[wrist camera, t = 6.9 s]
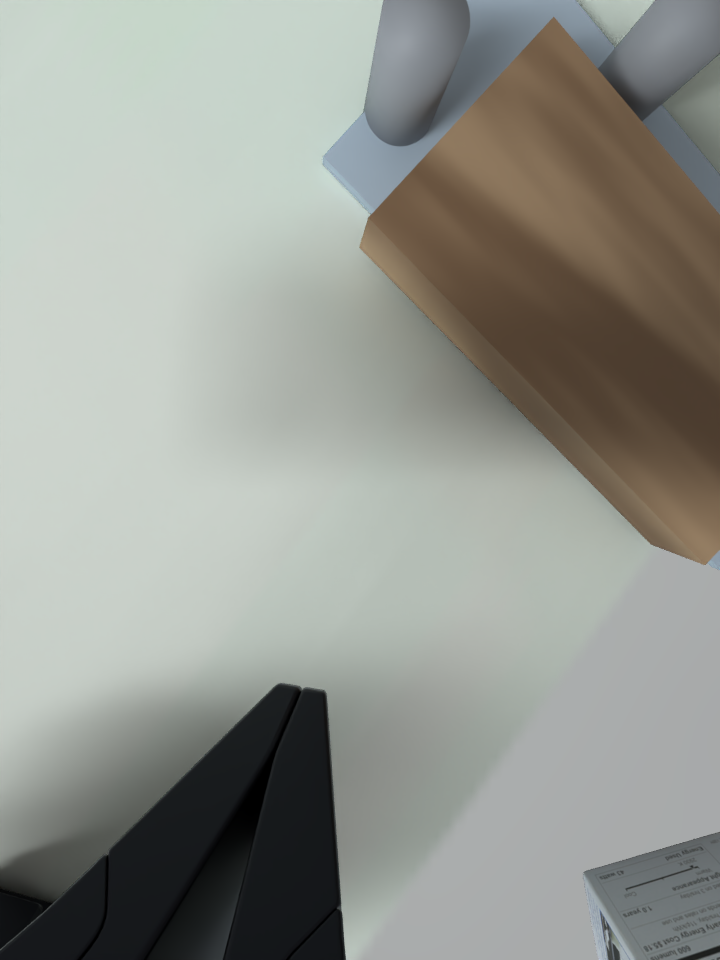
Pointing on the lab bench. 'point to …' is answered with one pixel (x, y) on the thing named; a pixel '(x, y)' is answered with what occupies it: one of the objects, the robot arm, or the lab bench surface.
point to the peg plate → (487, 53)
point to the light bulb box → (658, 904)
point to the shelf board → (576, 283)
